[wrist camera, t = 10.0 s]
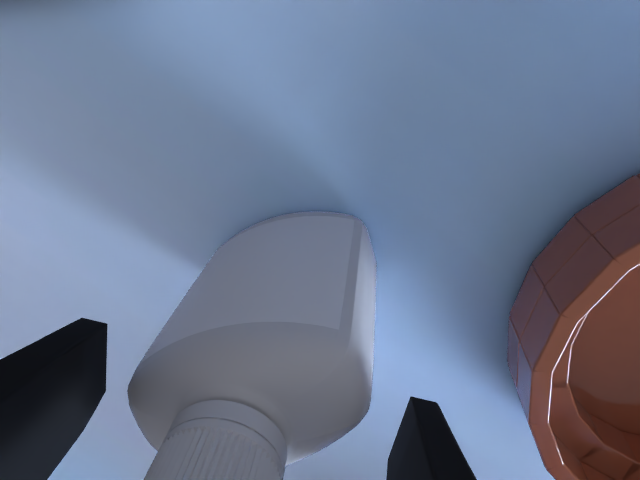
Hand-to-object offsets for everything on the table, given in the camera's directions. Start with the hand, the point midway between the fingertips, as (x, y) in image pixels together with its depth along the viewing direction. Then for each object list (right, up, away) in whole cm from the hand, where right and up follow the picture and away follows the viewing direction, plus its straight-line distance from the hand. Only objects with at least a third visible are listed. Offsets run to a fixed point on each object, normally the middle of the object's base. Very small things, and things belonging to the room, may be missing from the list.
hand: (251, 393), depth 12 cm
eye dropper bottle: (+1, +3, +6) cm, 7 cm away
